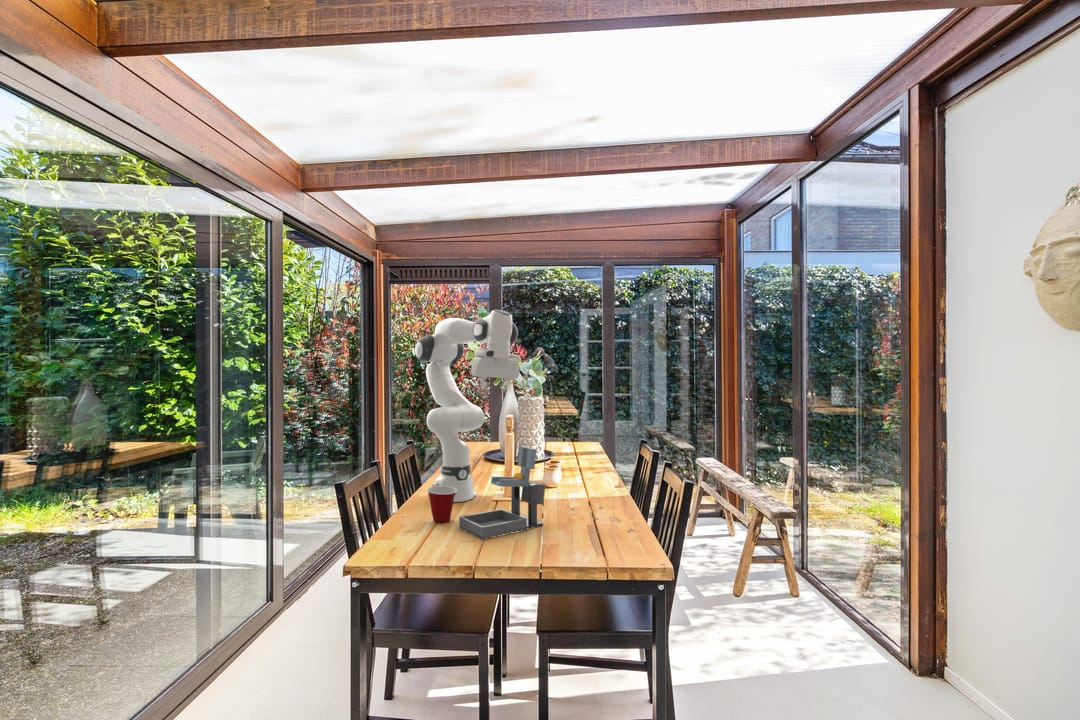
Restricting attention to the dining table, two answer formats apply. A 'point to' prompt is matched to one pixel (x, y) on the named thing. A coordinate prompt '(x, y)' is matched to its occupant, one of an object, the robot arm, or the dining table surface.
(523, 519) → the tray
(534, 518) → the lever stand
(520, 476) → the ball
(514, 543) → the dining table surface
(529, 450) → the lever
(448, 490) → the plastic cup
